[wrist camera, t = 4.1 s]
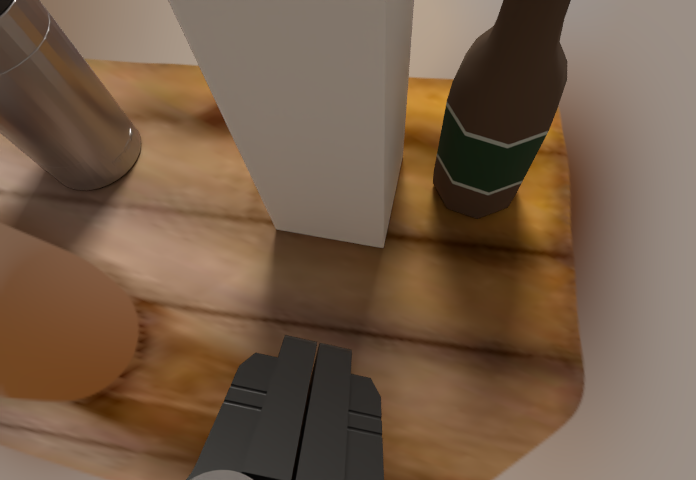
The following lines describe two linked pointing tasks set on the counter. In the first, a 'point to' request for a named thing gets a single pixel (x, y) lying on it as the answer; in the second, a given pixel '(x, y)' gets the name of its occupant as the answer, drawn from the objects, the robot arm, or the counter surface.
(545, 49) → the beer bottle
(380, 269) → the counter surface
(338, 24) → the stand
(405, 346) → the counter surface
